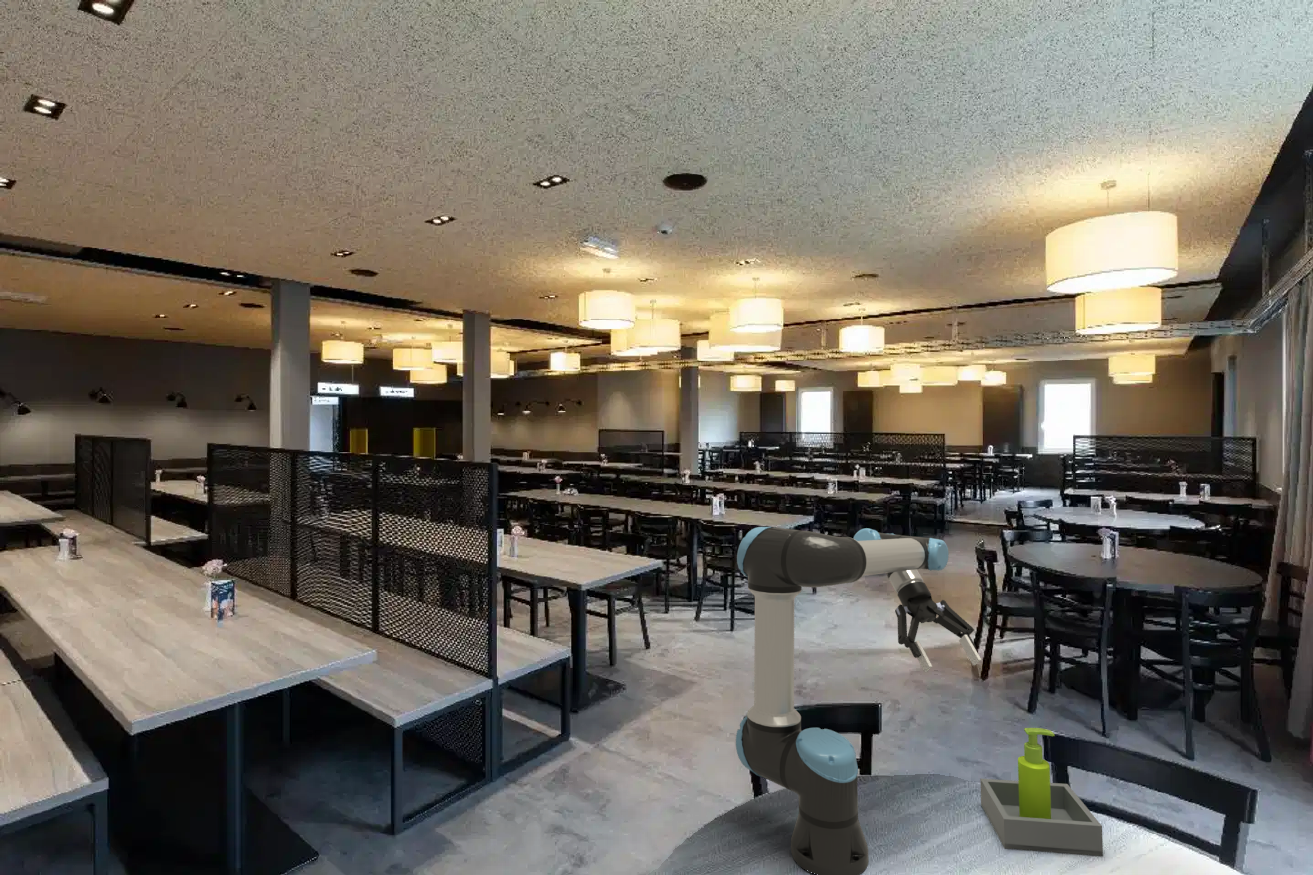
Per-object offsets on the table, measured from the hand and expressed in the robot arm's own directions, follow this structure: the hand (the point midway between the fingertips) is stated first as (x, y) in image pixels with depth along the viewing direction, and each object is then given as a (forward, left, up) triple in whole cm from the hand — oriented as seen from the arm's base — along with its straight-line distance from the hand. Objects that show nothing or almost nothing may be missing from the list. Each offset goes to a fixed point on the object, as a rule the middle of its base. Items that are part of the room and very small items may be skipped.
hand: (953, 665), depth 155 cm
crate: (+13, -13, -30) cm, 35 cm away
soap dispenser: (+13, -13, -29) cm, 34 cm away
